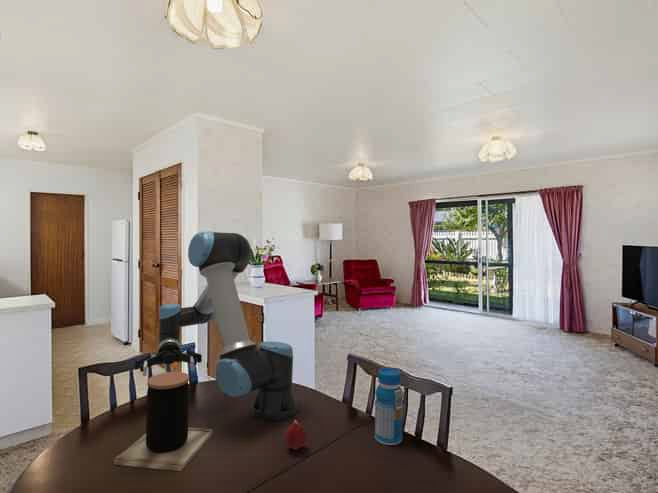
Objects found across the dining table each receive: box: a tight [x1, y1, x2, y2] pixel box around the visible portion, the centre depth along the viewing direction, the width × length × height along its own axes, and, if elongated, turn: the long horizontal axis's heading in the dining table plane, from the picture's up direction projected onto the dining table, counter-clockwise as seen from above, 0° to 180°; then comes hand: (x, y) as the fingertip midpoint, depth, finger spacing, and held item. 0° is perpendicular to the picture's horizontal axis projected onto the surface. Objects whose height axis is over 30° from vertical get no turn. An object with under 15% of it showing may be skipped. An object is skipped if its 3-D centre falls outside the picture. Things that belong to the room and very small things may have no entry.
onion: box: [284, 419, 307, 451], centre depth 100 cm, size 6×6×8 cm
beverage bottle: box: [374, 367, 405, 446], centre depth 107 cm, size 8×8×20 cm
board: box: [113, 426, 214, 472], centre depth 99 cm, size 18×18×2 cm
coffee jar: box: [145, 371, 190, 453], centre depth 99 cm, size 11×11×18 cm
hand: (169, 368), depth 112 cm, fingers open, 13 cm apart
